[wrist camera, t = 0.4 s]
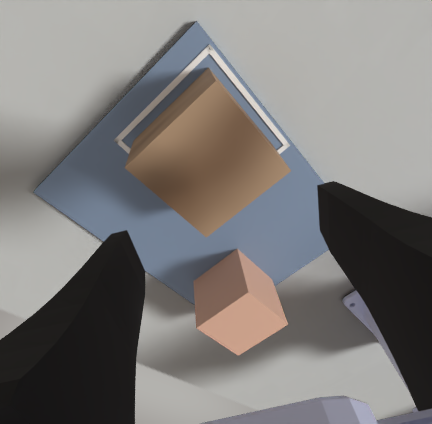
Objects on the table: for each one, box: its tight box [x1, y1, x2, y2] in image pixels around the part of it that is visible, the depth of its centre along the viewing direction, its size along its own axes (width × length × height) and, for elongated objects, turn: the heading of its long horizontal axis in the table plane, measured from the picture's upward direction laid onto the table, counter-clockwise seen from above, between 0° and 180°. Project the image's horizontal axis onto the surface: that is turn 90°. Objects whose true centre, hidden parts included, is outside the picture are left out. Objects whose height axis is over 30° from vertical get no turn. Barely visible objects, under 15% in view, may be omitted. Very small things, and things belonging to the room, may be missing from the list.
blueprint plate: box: [34, 21, 329, 305], centre depth 23 cm, size 18×14×1 cm
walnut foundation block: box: [125, 67, 291, 238], centre depth 18 cm, size 6×6×4 cm
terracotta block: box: [193, 249, 288, 356], centre depth 24 cm, size 4×4×4 cm
